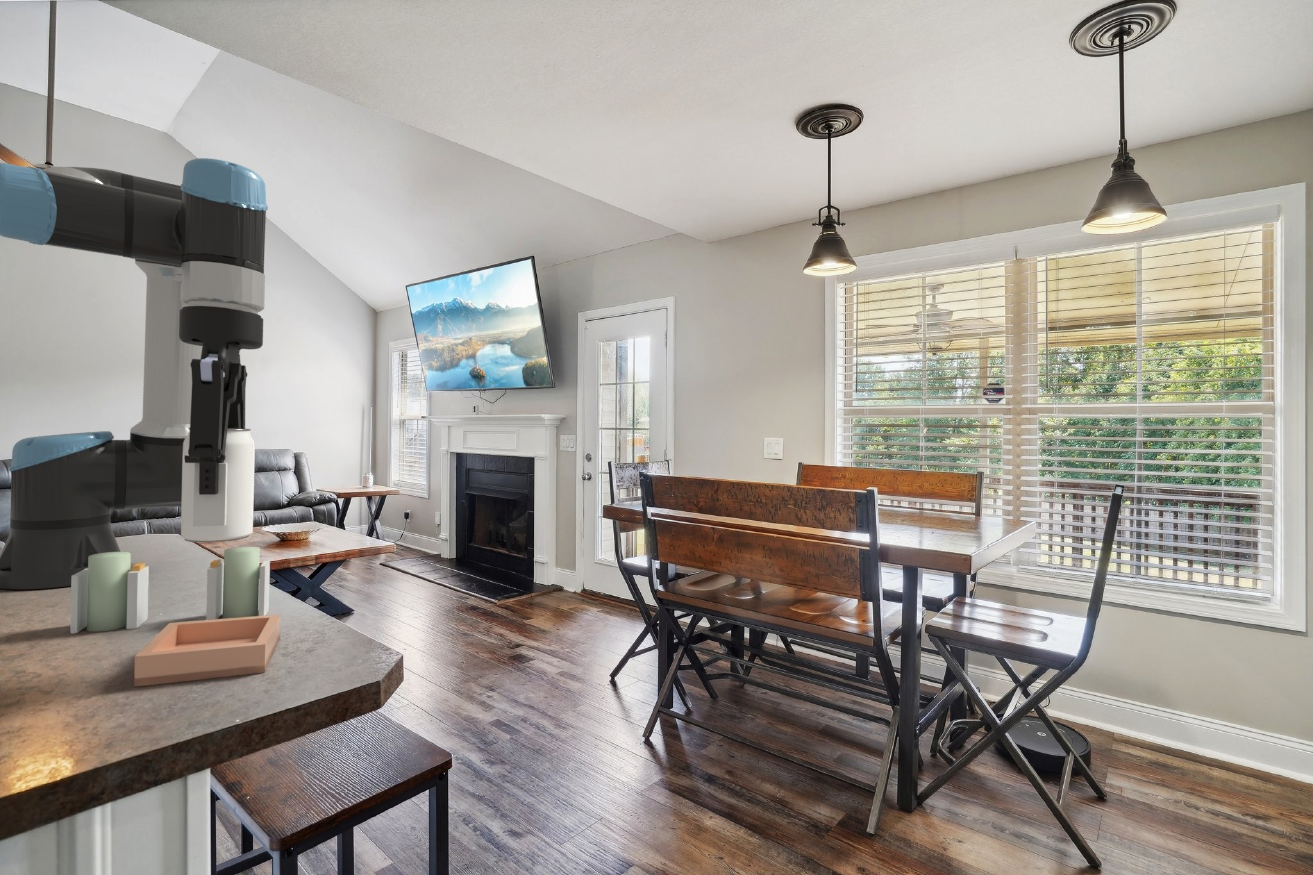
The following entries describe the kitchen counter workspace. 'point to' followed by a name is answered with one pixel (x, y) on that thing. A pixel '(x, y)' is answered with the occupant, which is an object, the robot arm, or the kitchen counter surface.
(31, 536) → the robot arm
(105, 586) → the peg
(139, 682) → the tray
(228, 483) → the can
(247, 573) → the green piece
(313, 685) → the kitchen counter surface
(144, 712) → the kitchen counter surface
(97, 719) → the kitchen counter surface
